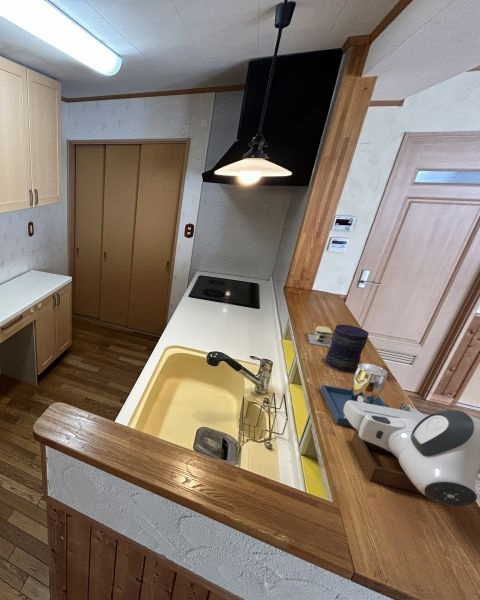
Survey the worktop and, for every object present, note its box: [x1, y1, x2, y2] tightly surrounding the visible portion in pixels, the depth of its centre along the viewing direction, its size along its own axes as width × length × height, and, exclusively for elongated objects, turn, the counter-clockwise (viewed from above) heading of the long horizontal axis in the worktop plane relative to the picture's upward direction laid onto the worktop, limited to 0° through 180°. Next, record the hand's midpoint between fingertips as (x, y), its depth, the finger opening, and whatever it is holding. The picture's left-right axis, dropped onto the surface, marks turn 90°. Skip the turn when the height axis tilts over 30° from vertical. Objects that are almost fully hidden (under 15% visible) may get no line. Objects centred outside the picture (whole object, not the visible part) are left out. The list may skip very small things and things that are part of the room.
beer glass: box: [349, 362, 388, 404], centre depth 97 cm, size 7×7×15 cm
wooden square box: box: [350, 430, 422, 494], centre depth 80 cm, size 13×13×4 cm
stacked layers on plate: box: [306, 325, 333, 348], centre depth 142 cm, size 10×9×6 cm
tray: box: [320, 384, 388, 429], centre depth 99 cm, size 15×17×2 cm
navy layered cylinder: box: [324, 324, 369, 373], centre depth 122 cm, size 10×10×15 cm
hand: (382, 402), depth 88 cm, fingers open, 8 cm apart
